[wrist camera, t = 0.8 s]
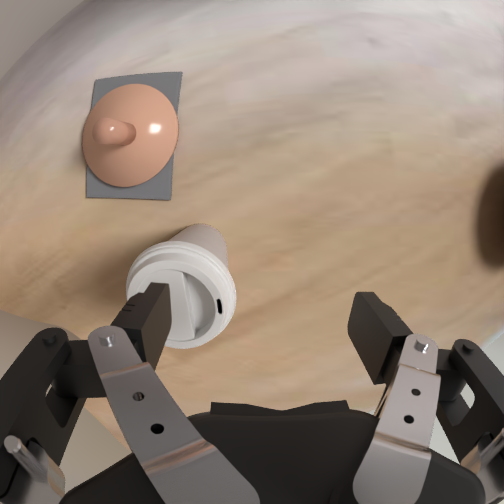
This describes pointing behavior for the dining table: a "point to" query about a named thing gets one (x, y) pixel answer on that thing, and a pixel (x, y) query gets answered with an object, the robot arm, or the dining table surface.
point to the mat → (163, 180)
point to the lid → (130, 135)
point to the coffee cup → (189, 283)
